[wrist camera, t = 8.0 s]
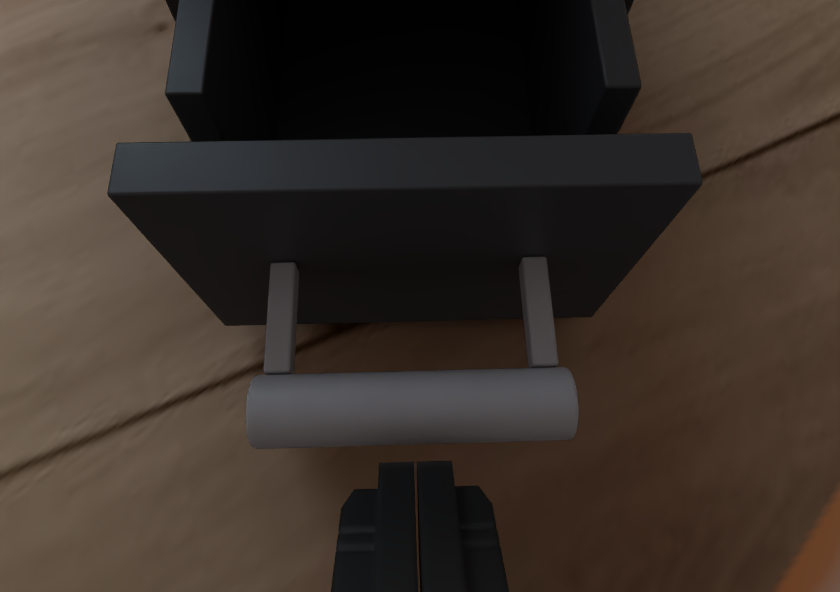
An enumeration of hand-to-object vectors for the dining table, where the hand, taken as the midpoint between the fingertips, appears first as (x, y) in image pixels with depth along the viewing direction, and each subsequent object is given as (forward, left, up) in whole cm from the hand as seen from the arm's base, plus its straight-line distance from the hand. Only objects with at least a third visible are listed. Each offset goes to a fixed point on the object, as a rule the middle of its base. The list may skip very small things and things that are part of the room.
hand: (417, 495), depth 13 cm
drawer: (+9, -4, -5) cm, 11 cm away
